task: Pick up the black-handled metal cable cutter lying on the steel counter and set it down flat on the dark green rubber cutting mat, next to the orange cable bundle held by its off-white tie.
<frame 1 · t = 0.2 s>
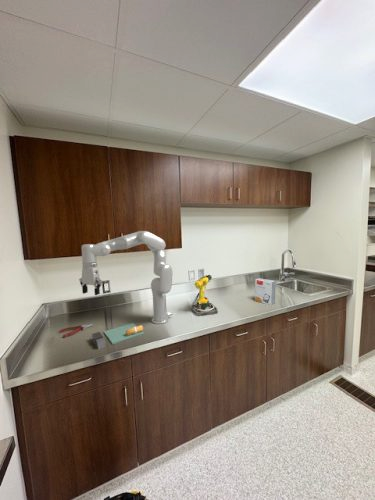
hand: (91, 293, 125), 29 cm above the worktop, fingers open, 9 cm apart
hard drive box: (264, 302, 185), on the worktop
pliers: (76, 332, 142), on the worktop
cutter: (98, 342, 126), on the worktop
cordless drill: (205, 310, 170), on the worktop
cutting mat: (123, 333, 136), on the worktop
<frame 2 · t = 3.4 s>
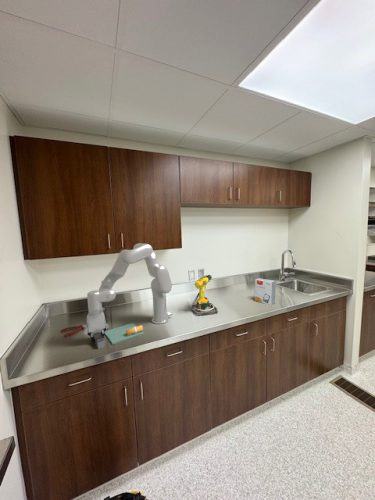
hand: (97, 340, 127), 1 cm above the worktop, fingers closed on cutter, 4 cm apart
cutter: (98, 342, 125), on the worktop, touching gripper
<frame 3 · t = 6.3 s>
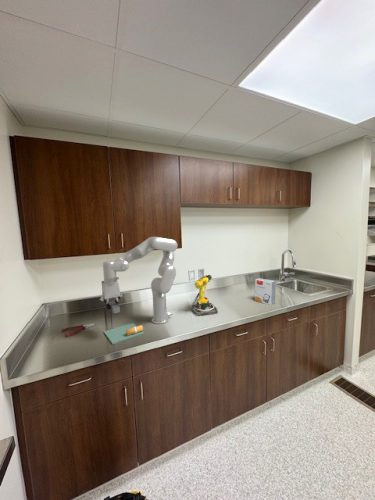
hand: (112, 307, 135), 17 cm above the worktop, fingers closed on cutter, 4 cm apart
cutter: (113, 309, 134), point 16 cm above the worktop, touching gripper
when the fingers open (3 cm above the worktop, at t = 9.6 s): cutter drops 1 cm, resting on cutting mat.
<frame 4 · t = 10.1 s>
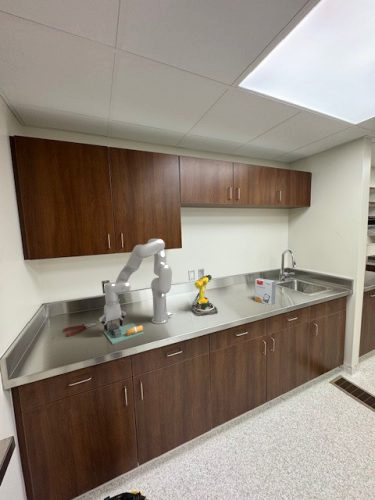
hand: (113, 327, 136), 4 cm above the worktop, fingers open, 9 cm apart
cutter: (115, 333, 135), point 1 cm above the worktop, touching cutting mat
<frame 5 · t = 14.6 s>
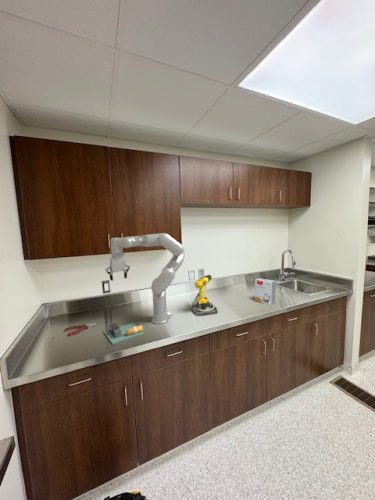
hand: (118, 279, 149), 32 cm above the worktop, fingers open, 9 cm apart
at the end: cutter inside the target area (0.1 cm from its centre), point 0.8 cm above the worktop; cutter tilted 0°; the gripper is holding nothing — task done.
